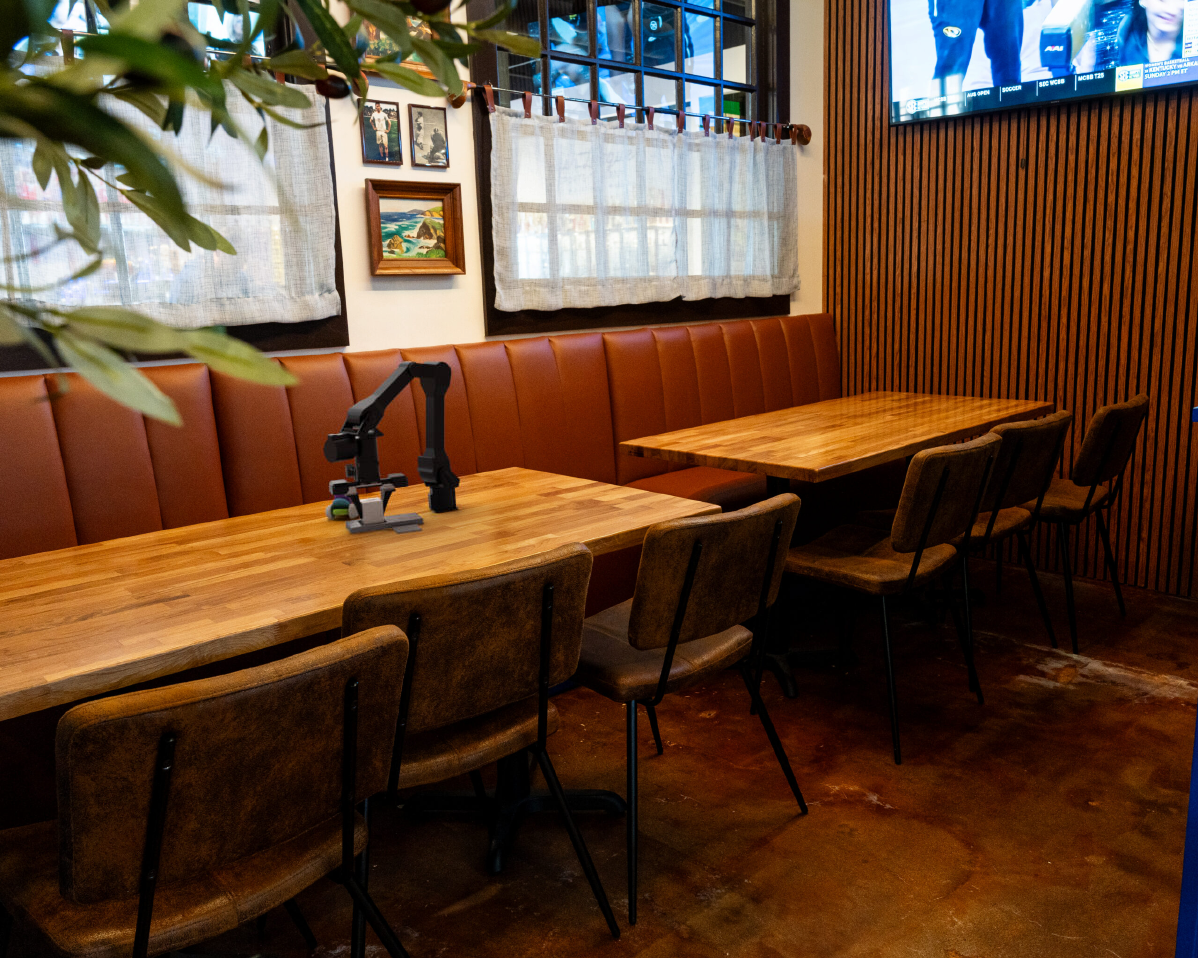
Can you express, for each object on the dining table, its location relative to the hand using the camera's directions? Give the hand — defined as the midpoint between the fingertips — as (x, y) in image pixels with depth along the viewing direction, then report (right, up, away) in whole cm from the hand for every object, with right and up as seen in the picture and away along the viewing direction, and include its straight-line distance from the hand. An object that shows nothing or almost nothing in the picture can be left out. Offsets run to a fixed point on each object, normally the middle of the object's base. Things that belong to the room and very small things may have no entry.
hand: (371, 517), depth 247 cm
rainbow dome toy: (-10, -1, +14) cm, 17 cm away
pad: (+10, -3, -3) cm, 11 cm away
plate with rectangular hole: (+3, -2, +2) cm, 4 cm away
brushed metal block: (0, -3, +1) cm, 2 cm away
